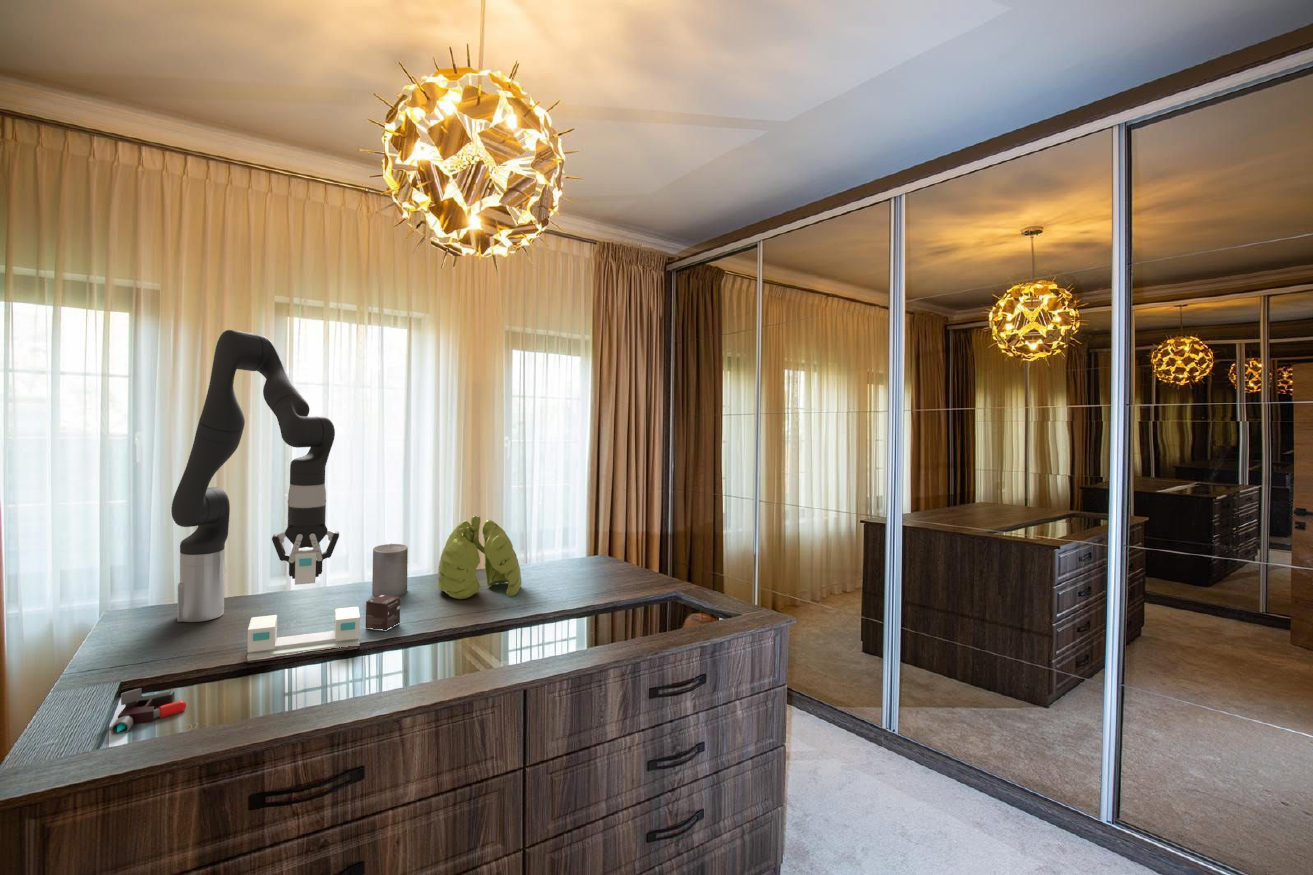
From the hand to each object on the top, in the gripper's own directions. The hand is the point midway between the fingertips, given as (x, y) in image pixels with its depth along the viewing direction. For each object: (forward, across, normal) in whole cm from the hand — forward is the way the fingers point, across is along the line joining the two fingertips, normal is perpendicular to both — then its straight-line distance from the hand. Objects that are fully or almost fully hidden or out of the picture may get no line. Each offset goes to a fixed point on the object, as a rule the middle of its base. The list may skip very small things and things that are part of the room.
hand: (305, 576), depth 141 cm
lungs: (+17, -46, -29) cm, 57 cm away
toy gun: (+18, +23, +24) cm, 37 cm away
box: (+17, -17, -8) cm, 26 cm away
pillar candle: (+17, -21, -36) cm, 45 cm away
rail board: (+17, 0, 0) cm, 17 cm away
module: (+1, 0, 0) cm, 1 cm away
